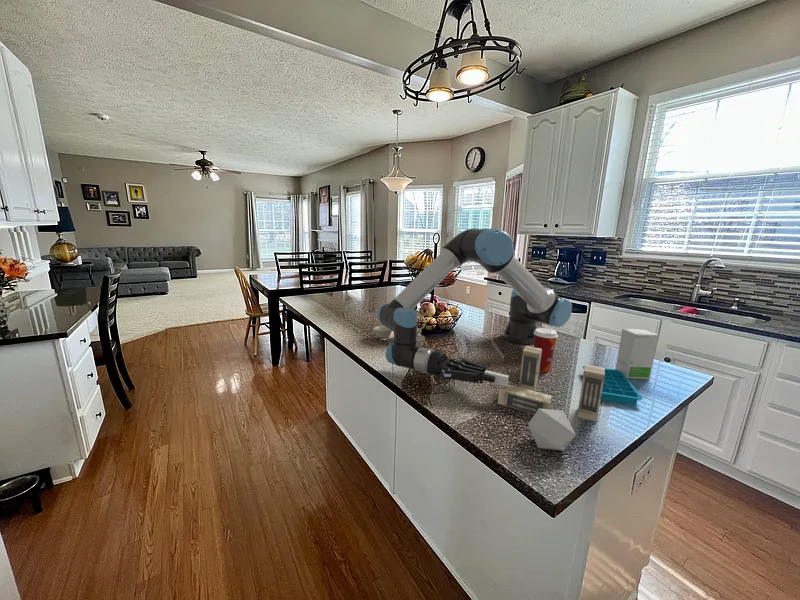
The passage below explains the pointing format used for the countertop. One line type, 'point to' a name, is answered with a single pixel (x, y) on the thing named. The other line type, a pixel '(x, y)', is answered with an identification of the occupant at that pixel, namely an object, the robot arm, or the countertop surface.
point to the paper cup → (545, 346)
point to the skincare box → (636, 353)
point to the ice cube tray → (618, 388)
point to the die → (551, 429)
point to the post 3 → (591, 392)
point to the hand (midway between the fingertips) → (507, 381)
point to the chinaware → (386, 332)
